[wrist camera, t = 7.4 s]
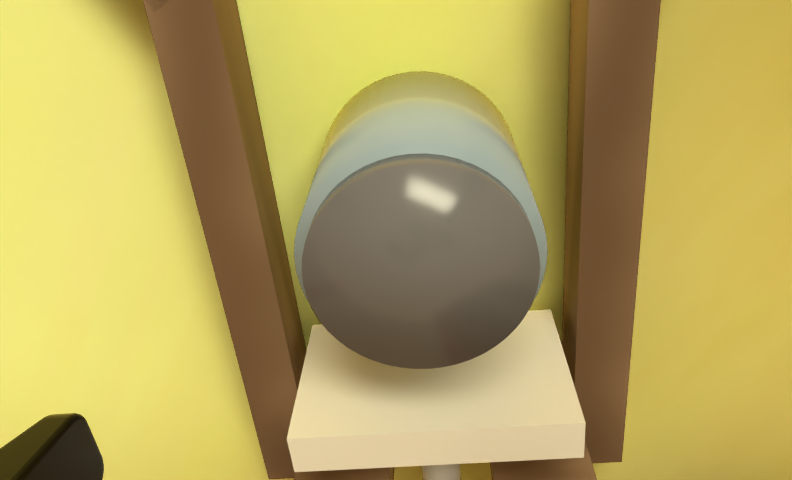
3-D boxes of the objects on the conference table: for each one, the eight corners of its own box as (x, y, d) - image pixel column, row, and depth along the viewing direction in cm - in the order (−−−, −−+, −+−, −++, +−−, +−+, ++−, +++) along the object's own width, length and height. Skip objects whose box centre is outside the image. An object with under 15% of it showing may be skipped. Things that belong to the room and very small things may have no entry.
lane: (737, -272, 14) (878, -334, 10) (658, 415, 24) (713, 538, 19) (50, -188, 16) (-94, -211, 11) (231, 438, 25) (191, 560, 20)
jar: (514, 62, 18) (554, 141, 13) (516, 243, 21) (550, 370, 15) (309, 80, 18) (267, 164, 13) (337, 255, 21) (311, 384, 16)
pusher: (550, 309, 21) (585, 422, 17) (548, 456, 24) (578, 584, 20) (312, 324, 22) (286, 438, 17) (339, 467, 25) (323, 594, 20)
